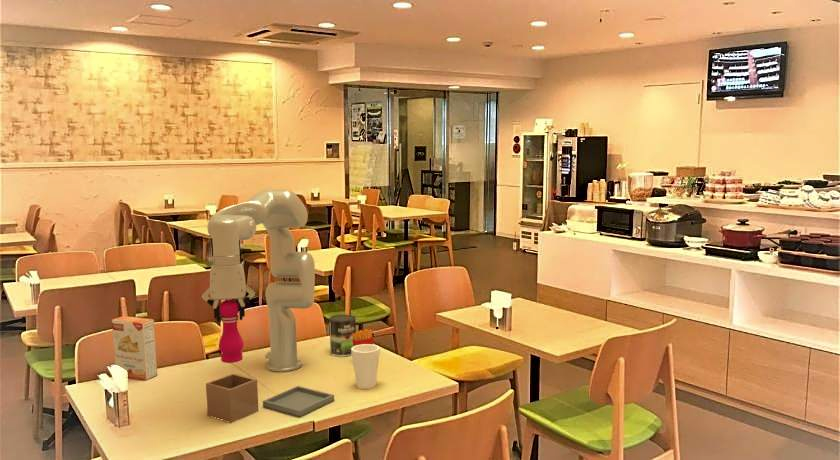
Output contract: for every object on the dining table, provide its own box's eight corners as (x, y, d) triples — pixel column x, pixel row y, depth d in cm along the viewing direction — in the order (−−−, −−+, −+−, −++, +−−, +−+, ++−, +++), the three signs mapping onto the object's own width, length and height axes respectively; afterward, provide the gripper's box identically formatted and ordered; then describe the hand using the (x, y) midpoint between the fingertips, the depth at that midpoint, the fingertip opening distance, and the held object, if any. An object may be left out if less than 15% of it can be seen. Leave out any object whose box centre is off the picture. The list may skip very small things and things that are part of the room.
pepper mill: (222, 356, 209) (218, 292, 206) (246, 355, 209) (243, 291, 206) (217, 364, 201) (213, 298, 199) (242, 363, 202) (238, 297, 199)
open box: (207, 415, 206) (205, 383, 204) (234, 404, 214) (233, 373, 213) (231, 423, 200) (229, 390, 199) (258, 411, 209) (257, 379, 207)
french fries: (369, 357, 259) (369, 326, 258) (375, 360, 256) (374, 329, 255) (350, 362, 254) (350, 330, 252) (356, 364, 251) (355, 333, 249)
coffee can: (360, 354, 263) (359, 318, 261) (335, 358, 259) (334, 322, 257) (350, 347, 272) (349, 313, 271) (326, 351, 268) (325, 316, 266)
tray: (263, 407, 212) (262, 400, 211) (298, 391, 224) (297, 385, 224) (300, 417, 203) (299, 411, 203) (334, 400, 216) (334, 394, 216)
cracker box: (114, 376, 241) (110, 319, 239) (127, 371, 247) (124, 315, 244) (145, 381, 236) (141, 322, 234) (158, 375, 242) (154, 318, 239)
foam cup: (375, 391, 224) (375, 353, 222) (348, 389, 225) (347, 351, 224) (383, 381, 233) (382, 344, 231) (357, 380, 235) (356, 343, 233)
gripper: (194, 264, 196) (198, 325, 198) (256, 261, 199) (259, 321, 202) (197, 259, 203) (201, 318, 206) (257, 257, 206) (259, 314, 209)
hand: (229, 319), depth 204 cm, fingers closed on pepper mill, 6 cm apart
